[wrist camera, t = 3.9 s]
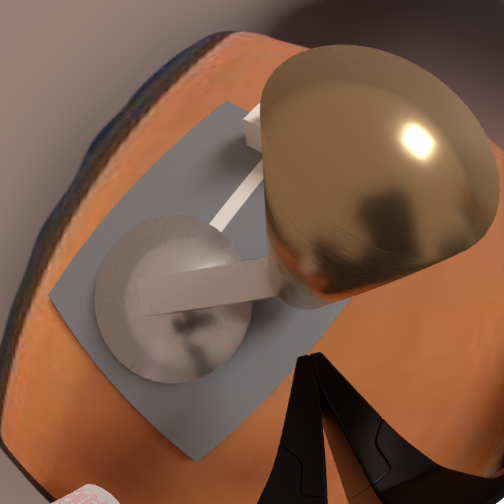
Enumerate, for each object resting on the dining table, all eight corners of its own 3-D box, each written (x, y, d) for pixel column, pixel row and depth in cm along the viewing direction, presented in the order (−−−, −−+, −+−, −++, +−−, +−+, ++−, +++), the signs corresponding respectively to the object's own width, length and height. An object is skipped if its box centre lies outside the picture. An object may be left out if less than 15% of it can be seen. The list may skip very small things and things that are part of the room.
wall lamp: (117, 380, 15) (-65, 415, 2) (105, 239, 18) (-44, 139, 5) (347, 352, 15) (540, 403, 2) (314, 198, 18) (370, -2, 4)
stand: (200, 456, 15) (173, 501, 9) (55, 296, 19) (2, 284, 13) (397, 223, 18) (439, 185, 12) (228, 107, 22) (217, 54, 16)
